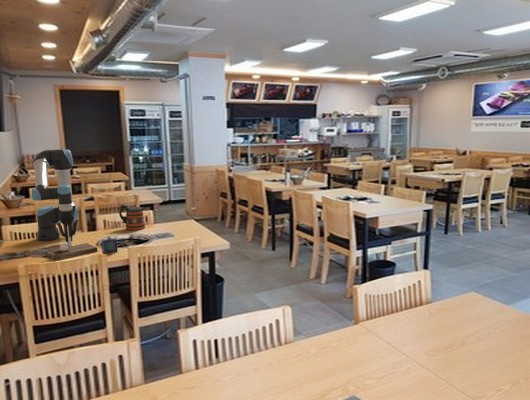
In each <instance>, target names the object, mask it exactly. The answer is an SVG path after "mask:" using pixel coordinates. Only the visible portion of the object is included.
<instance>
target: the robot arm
mask: <svg viewBox="0 0 530 400" xmlns="http://www.w3.org/2000/svg"><path fill="white" fill-rule="evenodd" d="M73 166H75V165H74V159H73V156H72V152H71V150H70V149H64V148H62V149H46V150H42V151H40V152H39V153H37V155H36V156H35V157H34V159H33V161H32V167H33V168H34V185H35V187H34V188H32V189H31V191H30V192H31V200H32V201H39V202H40V201H41V202H42V201H50V200H51V201H52V200H57V201H58V204H57V207H55V205H47V206H43V207H40V208H38V209H36V219H37V220H36V221H37V228H38V229H37V234H36V237H35V238H36V241H38V242H48V241H55V240H59V239H60V238H61V236H62V237H64V239H65V240H64V241H65V242H66V244H67V245H68V247H72V246H73V245H72V242H73V236H75V235H76V231H77V225H78V222H79V220H78V206H77V205H76V203H75V202H74V201H73V191H72V177H71V170H72V169H73ZM49 167H53V170H54V171H56V178H57V179H56V180H57V187H49V170H48V169H49ZM62 225H63V226H62ZM57 227H58V228H57ZM60 234H61V235H60Z"/></svg>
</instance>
